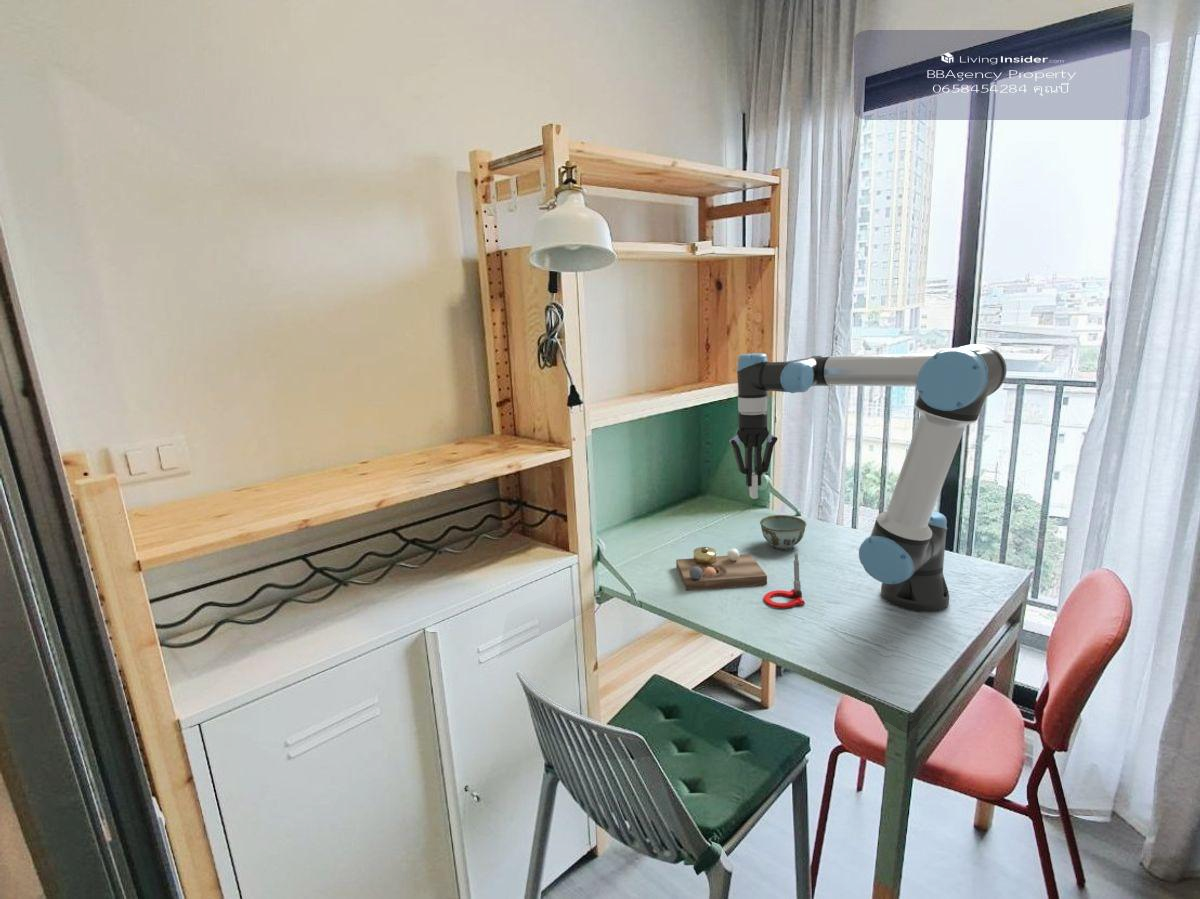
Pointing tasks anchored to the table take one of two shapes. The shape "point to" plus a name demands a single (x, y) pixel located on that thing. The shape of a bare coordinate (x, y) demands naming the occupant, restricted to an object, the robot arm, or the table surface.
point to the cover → (705, 555)
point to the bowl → (783, 531)
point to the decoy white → (733, 554)
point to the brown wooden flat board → (722, 573)
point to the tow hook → (793, 593)
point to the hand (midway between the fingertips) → (753, 497)
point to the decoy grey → (695, 572)
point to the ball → (710, 571)
